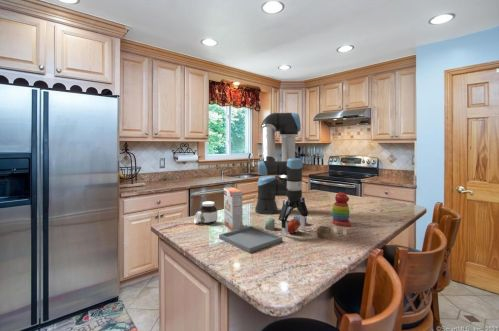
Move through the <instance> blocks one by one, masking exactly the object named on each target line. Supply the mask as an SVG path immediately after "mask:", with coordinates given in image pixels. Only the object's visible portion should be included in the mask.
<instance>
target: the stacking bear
mask: <svg viewBox="0 0 499 331" xmlns="http://www.w3.org/2000/svg"><path fill="white" fill-rule="evenodd" d="M334 198H335V202H334V203H333V205H332V209H331V215H332V221H331V223H332V224H333V225H335V226H339V227H349V228H350V227H352V226H353V224H352V223H351V222H350V219H349V217H350V214H351V213H350V207H349V204H348V202H349V200H350V198H349V196H348V195H347V194H346V193H345V192H341V191H339V192H337V193H336V194H335V196H334Z"/></svg>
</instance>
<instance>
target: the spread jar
mask: <svg viewBox="0 0 499 331" xmlns="http://www.w3.org/2000/svg"><path fill="white" fill-rule="evenodd" d="M217 221H218V209H217V207H216V205H215V201H209V200H208V201H207V200H206V201H203V202H202V206H201V207H200V208H199V211H196V212H195V215H194V219H193V222H194V224H199V222H201V224H203V225H214V224H215V223H216V222H217Z"/></svg>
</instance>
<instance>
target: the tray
mask: <svg viewBox="0 0 499 331" xmlns="http://www.w3.org/2000/svg"><path fill="white" fill-rule="evenodd" d="M218 239H219V240H221V241H224V242H226V243H227V244H230V245H232V246H234V247H236V248H238V249H240V250H242V251H244V252H247V253H249V254H251V253H253V252H257V251H259V250H262V249H265V248H267V247H270V246H273V245H276V244H279V243H282V242H283V236H280V235H277V234H274V233H272V232H269V231H265V230H263V229H260V228H258V227H255V226H252V225H249V226H245V227H243V228H242V229H238V230H234V231H231V230H230V231H227V232H224V233H219V234H218Z"/></svg>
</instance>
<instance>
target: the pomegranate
mask: <svg viewBox="0 0 499 331" xmlns="http://www.w3.org/2000/svg"><path fill="white" fill-rule="evenodd" d="M286 221H288V224H287V233H289V234H291V235H294V233H295V232H296V231H297V232H298V233H299V234H301V231H299V230H298V229H300V225H301V224H300V222H299V221H298V220H296V219H294V218H292V219H290V220H288V219H287V220H286Z"/></svg>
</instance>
